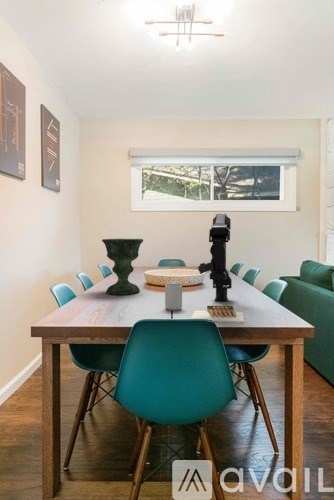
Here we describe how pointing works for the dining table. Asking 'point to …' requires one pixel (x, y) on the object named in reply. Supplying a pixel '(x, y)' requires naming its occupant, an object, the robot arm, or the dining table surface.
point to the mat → (219, 317)
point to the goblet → (122, 263)
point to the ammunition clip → (221, 310)
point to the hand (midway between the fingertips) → (218, 294)
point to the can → (173, 295)
